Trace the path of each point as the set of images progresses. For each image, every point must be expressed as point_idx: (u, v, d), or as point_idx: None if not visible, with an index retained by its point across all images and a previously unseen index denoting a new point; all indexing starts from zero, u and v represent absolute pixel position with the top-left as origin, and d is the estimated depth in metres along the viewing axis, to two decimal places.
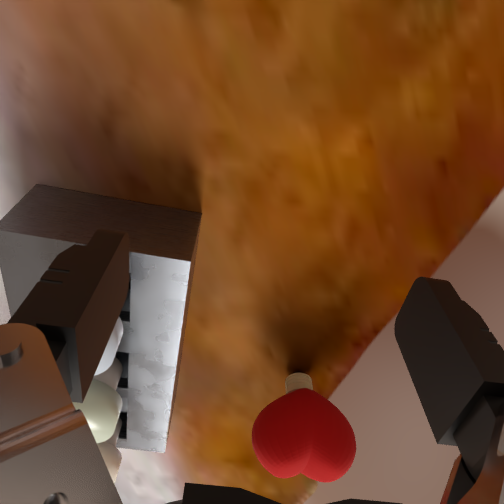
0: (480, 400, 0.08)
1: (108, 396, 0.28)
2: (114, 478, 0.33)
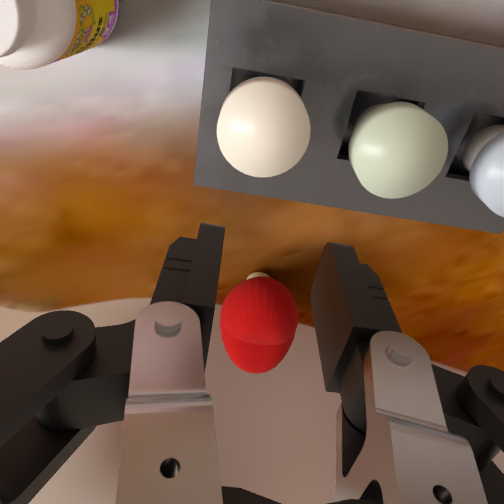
0: (355, 346, 0.09)
1: None
2: (262, 176, 0.24)
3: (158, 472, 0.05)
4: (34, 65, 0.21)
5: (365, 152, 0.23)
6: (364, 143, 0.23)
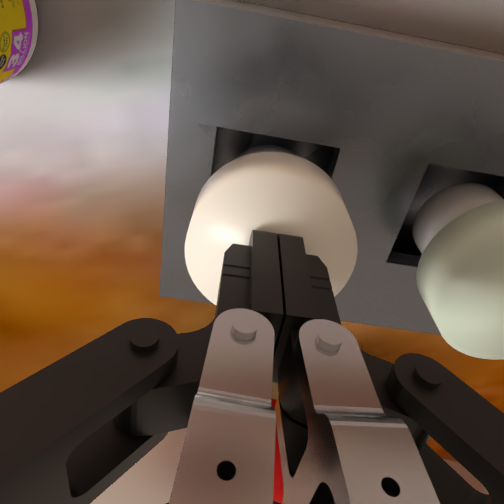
0: (290, 334, 0.09)
1: None
2: None
3: (214, 471, 0.05)
4: None
5: (459, 295, 0.12)
6: (459, 280, 0.12)
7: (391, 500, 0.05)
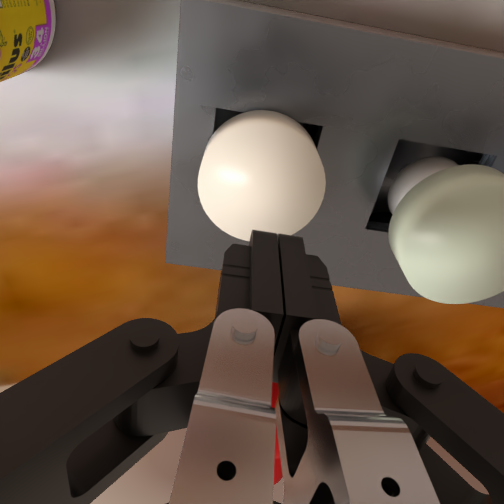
0: (291, 335, 0.09)
1: None
2: None
3: (215, 472, 0.05)
4: None
5: (420, 244, 0.15)
6: (420, 232, 0.14)
7: (391, 499, 0.05)
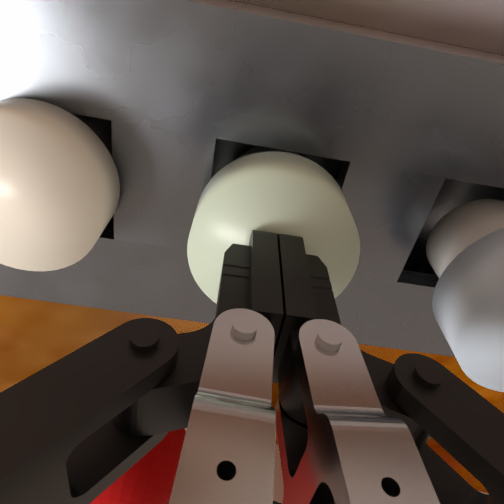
0: (291, 335, 0.09)
1: None
2: (39, 269, 0.14)
3: (214, 471, 0.05)
4: None
5: (203, 249, 0.12)
6: (198, 233, 0.12)
7: (392, 501, 0.05)
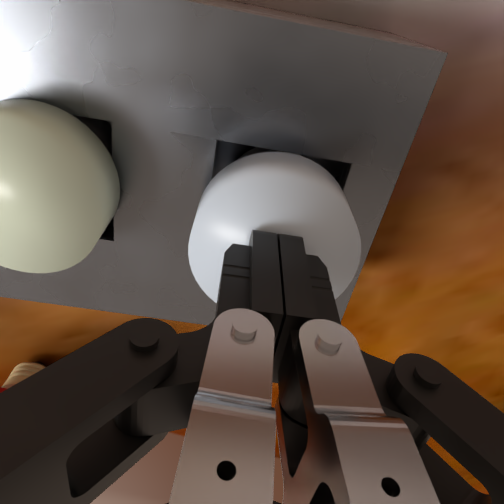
0: (291, 335, 0.09)
1: None
2: None
3: (214, 471, 0.05)
4: None
5: None
6: None
7: (391, 500, 0.05)
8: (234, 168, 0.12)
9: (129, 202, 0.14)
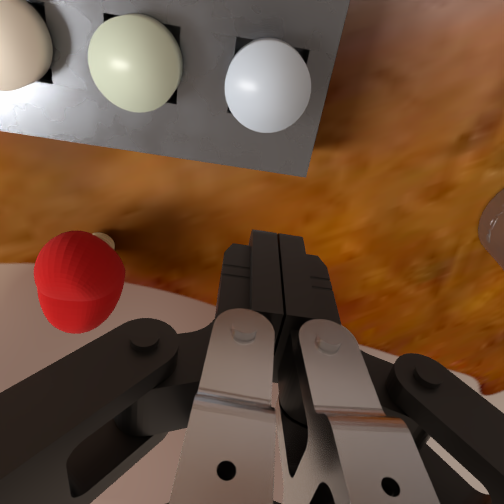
0: (291, 334, 0.09)
1: None
2: (6, 90, 0.24)
3: (214, 472, 0.05)
4: None
5: (96, 61, 0.23)
6: (92, 52, 0.23)
7: (392, 499, 0.05)
8: (247, 44, 0.24)
9: (187, 77, 0.26)
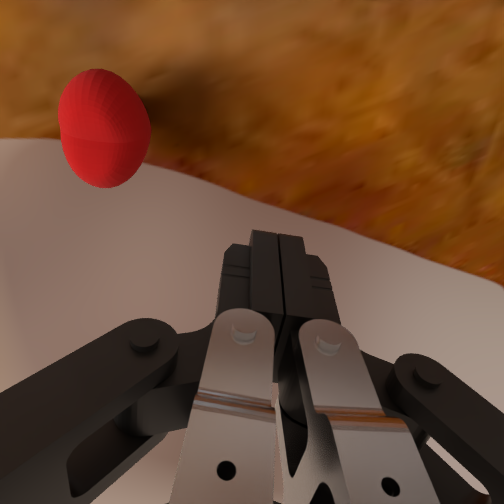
0: (291, 334, 0.09)
1: None
2: None
3: (215, 472, 0.05)
4: None
5: None
6: None
7: (391, 500, 0.05)
8: None
9: None
